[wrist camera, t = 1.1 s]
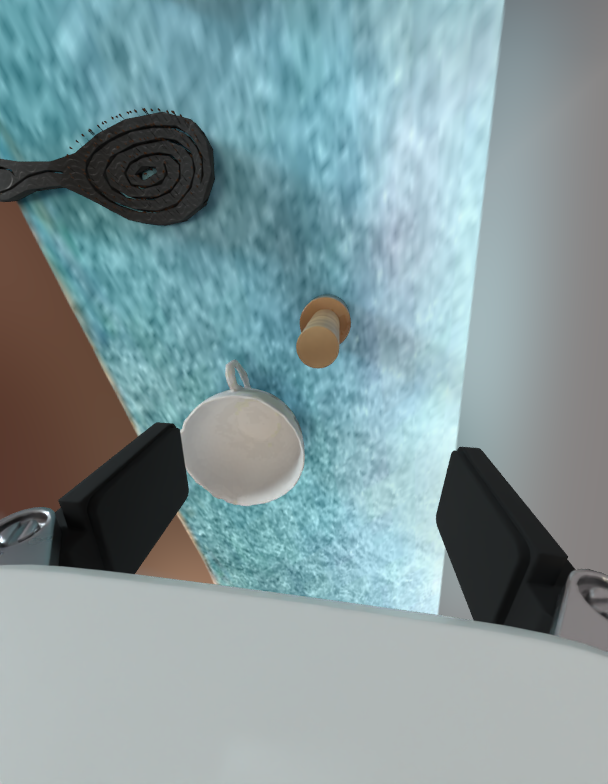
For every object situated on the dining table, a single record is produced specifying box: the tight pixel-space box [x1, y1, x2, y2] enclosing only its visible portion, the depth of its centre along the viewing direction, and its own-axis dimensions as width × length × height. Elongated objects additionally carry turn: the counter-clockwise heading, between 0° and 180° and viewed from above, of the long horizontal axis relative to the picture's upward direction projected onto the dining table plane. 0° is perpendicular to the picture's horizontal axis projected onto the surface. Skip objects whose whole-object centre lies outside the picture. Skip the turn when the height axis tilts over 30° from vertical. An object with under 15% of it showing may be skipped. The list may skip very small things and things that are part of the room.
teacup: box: [180, 360, 305, 506], centre depth 32 cm, size 15×12×8 cm
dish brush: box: [296, 294, 351, 368], centre depth 24 cm, size 5×5×14 cm
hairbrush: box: [0, 108, 215, 226], centre depth 27 cm, size 8×4×25 cm
